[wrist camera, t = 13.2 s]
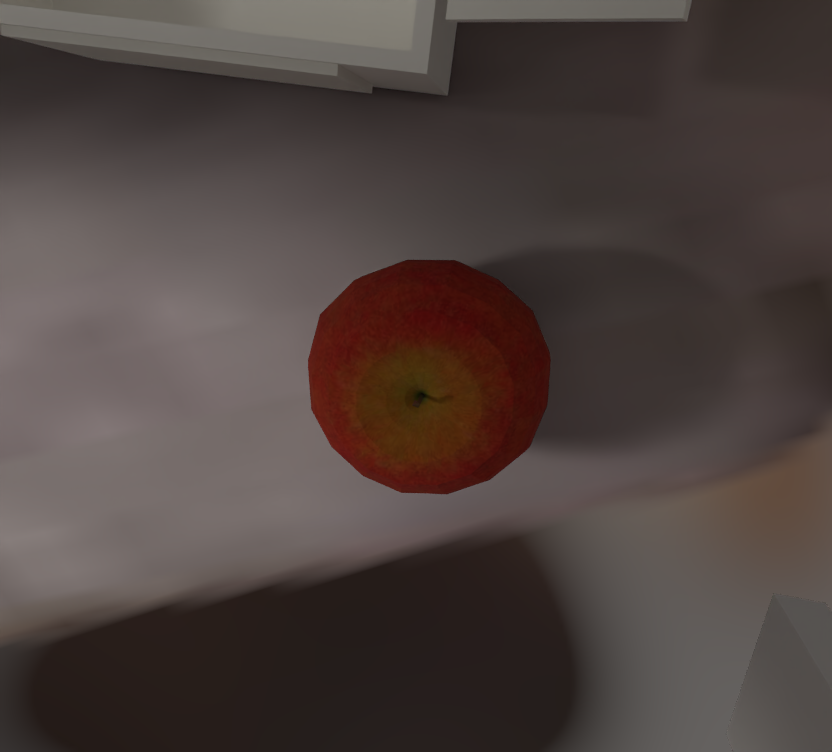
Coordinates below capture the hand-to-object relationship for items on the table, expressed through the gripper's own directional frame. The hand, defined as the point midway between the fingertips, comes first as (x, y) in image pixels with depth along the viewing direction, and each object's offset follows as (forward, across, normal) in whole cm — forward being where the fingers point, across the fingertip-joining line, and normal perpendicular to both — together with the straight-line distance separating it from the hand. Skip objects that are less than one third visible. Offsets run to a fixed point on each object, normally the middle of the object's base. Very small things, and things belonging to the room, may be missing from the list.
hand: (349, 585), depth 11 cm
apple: (+16, 0, 0) cm, 16 cm away
